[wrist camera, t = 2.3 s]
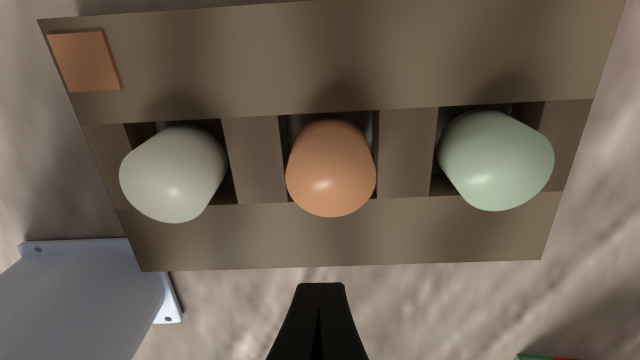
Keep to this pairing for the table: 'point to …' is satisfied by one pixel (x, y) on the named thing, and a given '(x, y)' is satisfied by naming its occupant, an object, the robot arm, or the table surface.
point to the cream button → (174, 173)
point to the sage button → (494, 159)
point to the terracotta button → (330, 168)
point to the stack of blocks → (537, 358)
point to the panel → (334, 96)
